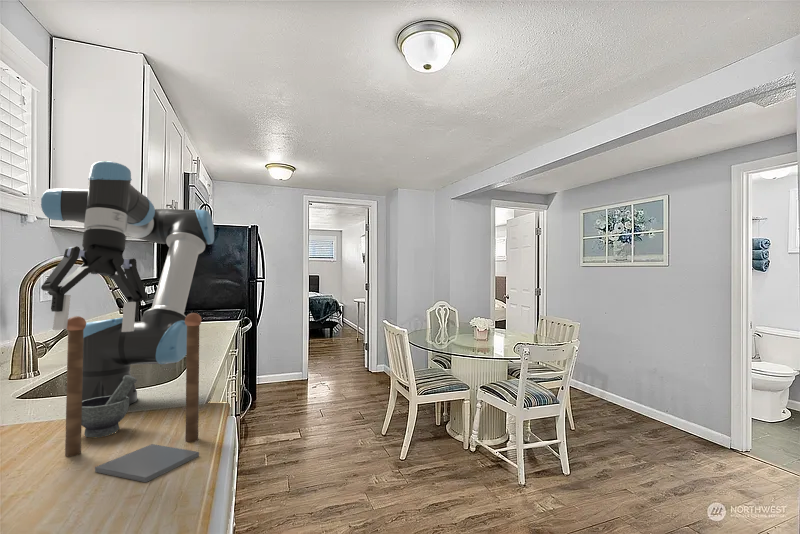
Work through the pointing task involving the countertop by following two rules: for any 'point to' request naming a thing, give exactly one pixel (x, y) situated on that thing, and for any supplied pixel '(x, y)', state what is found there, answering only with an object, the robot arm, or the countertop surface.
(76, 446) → the post
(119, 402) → the mortar and pestle
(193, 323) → the post
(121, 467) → the slate pad
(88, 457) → the countertop surface
